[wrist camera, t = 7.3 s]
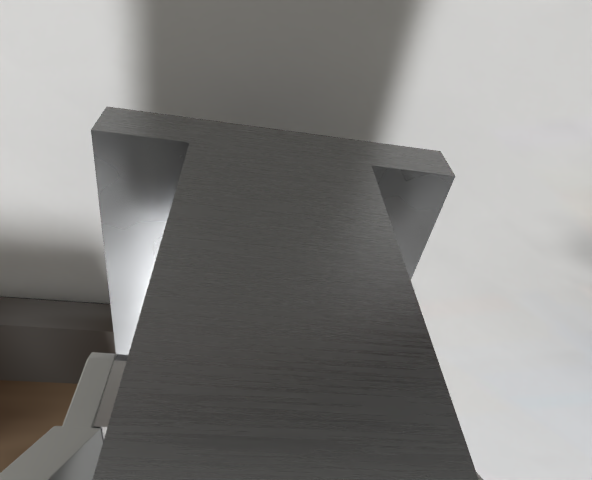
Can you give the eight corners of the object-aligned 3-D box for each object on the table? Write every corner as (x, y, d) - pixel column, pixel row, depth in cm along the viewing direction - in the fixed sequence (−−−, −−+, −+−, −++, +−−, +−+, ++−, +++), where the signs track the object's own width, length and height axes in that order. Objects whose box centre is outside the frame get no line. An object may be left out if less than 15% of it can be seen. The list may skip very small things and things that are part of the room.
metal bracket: (440, 151, 12) (782, 722, 4) (360, 353, 17) (442, 787, 9) (106, 106, 11) (-345, 773, 3) (126, 336, 16) (-19, 815, 8)
